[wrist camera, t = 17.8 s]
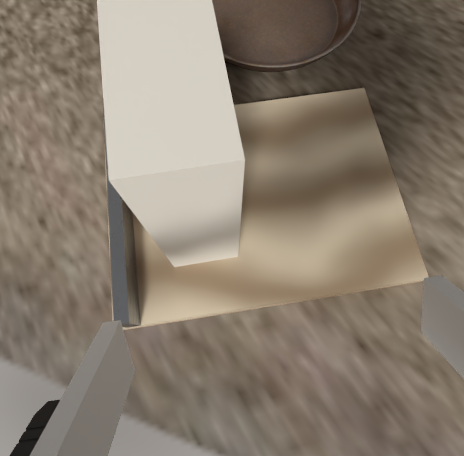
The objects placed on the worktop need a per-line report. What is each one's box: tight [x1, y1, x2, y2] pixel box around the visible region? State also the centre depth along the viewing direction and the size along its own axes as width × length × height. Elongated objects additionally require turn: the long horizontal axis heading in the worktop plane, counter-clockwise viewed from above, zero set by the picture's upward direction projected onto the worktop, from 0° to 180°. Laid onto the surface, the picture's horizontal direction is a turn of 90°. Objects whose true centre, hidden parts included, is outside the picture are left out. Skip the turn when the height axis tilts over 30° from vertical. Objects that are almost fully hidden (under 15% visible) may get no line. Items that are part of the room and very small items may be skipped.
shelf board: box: [104, 88, 428, 330], centre depth 29 cm, size 18×24×2 cm
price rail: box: [103, 100, 141, 328], centre depth 27 cm, size 18×1×3 cm, turn 9°
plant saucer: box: [212, 0, 361, 72], centre depth 36 cm, size 18×18×3 cm
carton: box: [97, 0, 245, 267], centre depth 21 cm, size 5×10×15 cm, turn 10°
